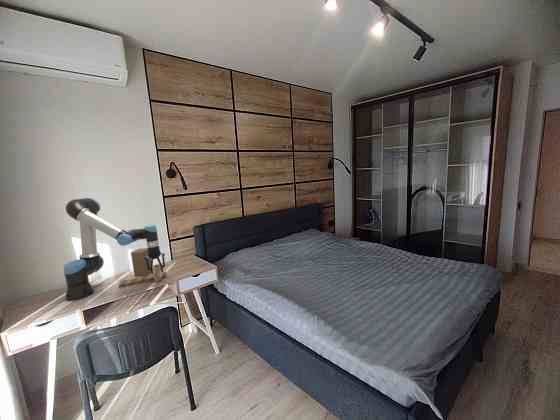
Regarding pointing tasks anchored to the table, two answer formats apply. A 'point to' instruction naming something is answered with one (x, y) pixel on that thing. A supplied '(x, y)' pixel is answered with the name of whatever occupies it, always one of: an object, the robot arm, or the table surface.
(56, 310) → the table surface
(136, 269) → the wooden block
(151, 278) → the board
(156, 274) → the gauge
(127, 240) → the robot arm
